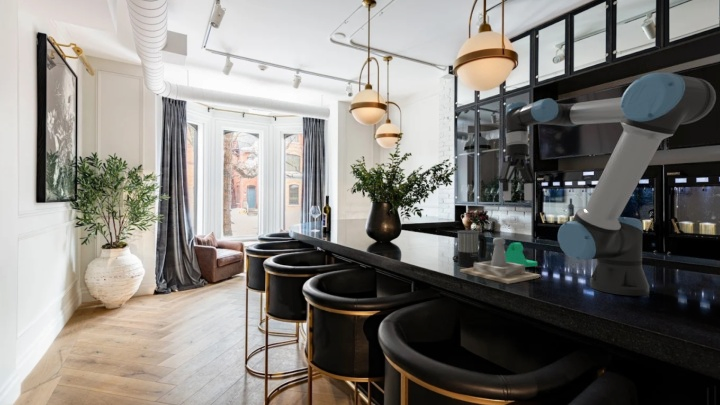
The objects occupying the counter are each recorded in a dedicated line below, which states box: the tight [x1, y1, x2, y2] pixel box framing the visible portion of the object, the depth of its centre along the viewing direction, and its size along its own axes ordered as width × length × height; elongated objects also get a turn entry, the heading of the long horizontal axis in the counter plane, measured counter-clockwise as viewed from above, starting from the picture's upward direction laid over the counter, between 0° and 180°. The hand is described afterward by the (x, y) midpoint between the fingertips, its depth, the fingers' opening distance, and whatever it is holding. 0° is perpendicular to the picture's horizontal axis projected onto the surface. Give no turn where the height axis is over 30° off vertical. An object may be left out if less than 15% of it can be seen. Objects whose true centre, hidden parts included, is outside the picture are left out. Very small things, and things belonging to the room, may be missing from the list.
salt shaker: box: [490, 237, 507, 267], centre depth 134 cm, size 6×6×13 cm
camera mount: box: [505, 242, 538, 268], centre depth 151 cm, size 12×8×10 cm, turn 23°
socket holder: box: [459, 260, 541, 285], centre depth 134 cm, size 22×18×4 cm
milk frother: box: [452, 229, 488, 268], centre depth 157 cm, size 14×16×15 cm
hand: (518, 200), depth 134 cm, fingers open, 13 cm apart
